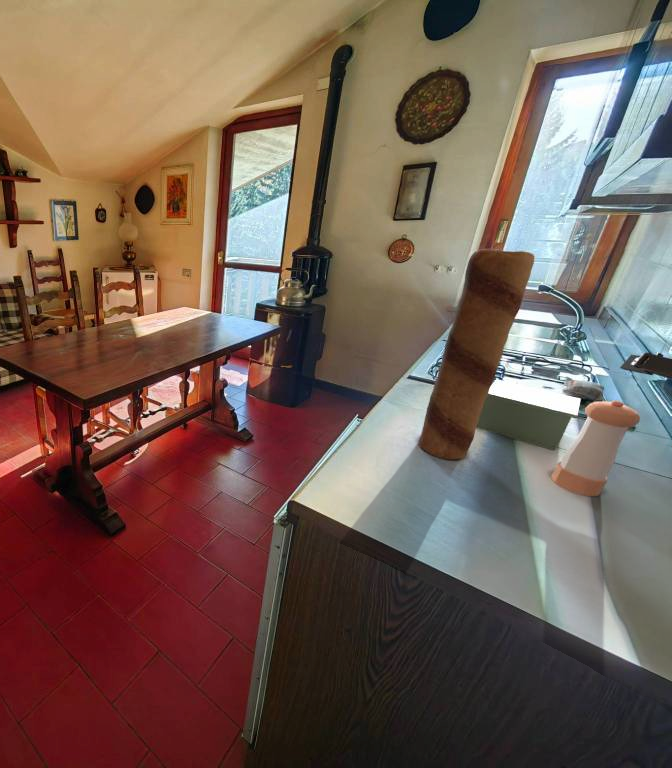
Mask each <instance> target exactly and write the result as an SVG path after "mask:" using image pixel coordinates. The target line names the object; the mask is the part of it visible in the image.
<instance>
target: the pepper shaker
mask: <svg viewBox="0 0 672 768" xmlns="http://www.w3.org/2000/svg"><path fill="white" fill-rule="evenodd" d="M584 412H585V415H586V417H587V418H586V419H585V422H584V423H583V425H582V427H581V429H580V431H579V433H578V435H577V436H576V438H575V439H574V440H573V441H572V443H571V444H570V445H569V446H568V448H567V449H566V451H565V453H564V455H563V456H562V460H561V461H559V462H558V463H557V464H556V466H555V468H554V470H553V472H552V474H551V476H550V478H551V481H552V482H553V483H554V484H556V485H557V486H559V487H561V488H563V489H565V490H566V491H569V492H572V493H575V494H578V495H582V496H586V497H598V496H600V494H601V492H602V491H603V489H604V487H605V486H606V484H607V482H608V477H607V476H608V474H609V473H610V471H611V469H612V468H613V466H614V465H615V462H616V458H617V455H618V450H619V447H620V445H621V444H622V443H621V442H622V441H623V439H624V437H625V435H626V433H627V432H628V430H629V428H633V427H635V426H637V425H638V424H639V423H640V420H641V417H640V414H639V412H638V411H636V410H635V409H633V408H631V407H630V406H627V405H625V404H624V402H622V401H620V400H612V401H599V402H593V401H592V402H591V403H589V404H588V405H587V406H586V407H585V409H584Z"/></svg>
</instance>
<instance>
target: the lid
mask: <svg viewBox="0 0 672 768" xmlns="http://www.w3.org/2000/svg"><path fill="white" fill-rule="evenodd" d="M487 396H489V397H493V398H497V399H501V400H505V401H509V402H513V403H517V404H521V405H524V406H528V407H532V408H536V409H540V410H544V411H548V412H552V413H556V414H560V415H564V416H568V417H571V419H577V418H578V415H579V412H580V411H579V410H580V406H581V400H582V399H580V398H576V397H572V396H569V395H567V394H562V393H557V392H554V391H548V390H545V389H539V388H535V387H532V386H526V385H523V384H518V383H515V382H514V383H513V382H509V381H504V380H501V379H495V380H494V381H493V383H492V385H491V387H490V390H489V393H488V395H487Z"/></svg>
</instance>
